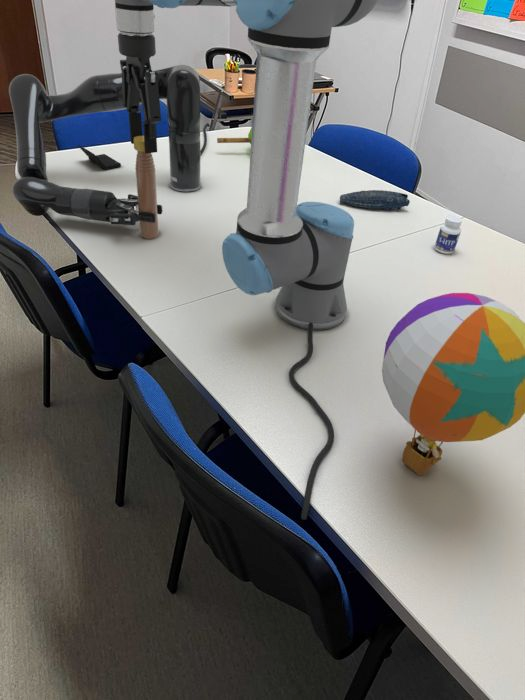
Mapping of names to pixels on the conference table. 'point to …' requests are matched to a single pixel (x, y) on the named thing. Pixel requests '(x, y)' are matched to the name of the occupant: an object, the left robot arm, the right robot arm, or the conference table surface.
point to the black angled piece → (101, 159)
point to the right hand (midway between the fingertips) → (143, 147)
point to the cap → (139, 143)
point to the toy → (455, 372)
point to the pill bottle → (448, 235)
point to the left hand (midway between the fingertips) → (158, 214)
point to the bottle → (146, 193)
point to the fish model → (376, 199)
